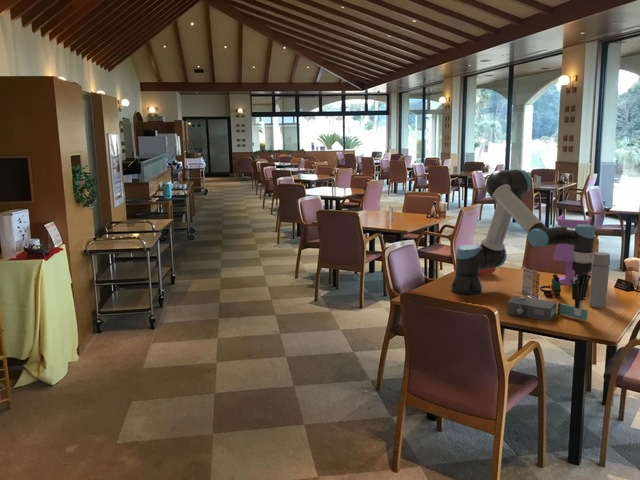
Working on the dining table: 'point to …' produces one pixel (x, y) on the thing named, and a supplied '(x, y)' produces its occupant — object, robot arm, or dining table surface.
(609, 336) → the dining table surface
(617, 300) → the dining table surface
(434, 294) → the dining table surface
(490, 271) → the french fries container
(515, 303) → the block
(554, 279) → the binoculars
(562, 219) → the purple table lamp
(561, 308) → the side door
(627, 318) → the dining table surface
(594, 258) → the water bottle
